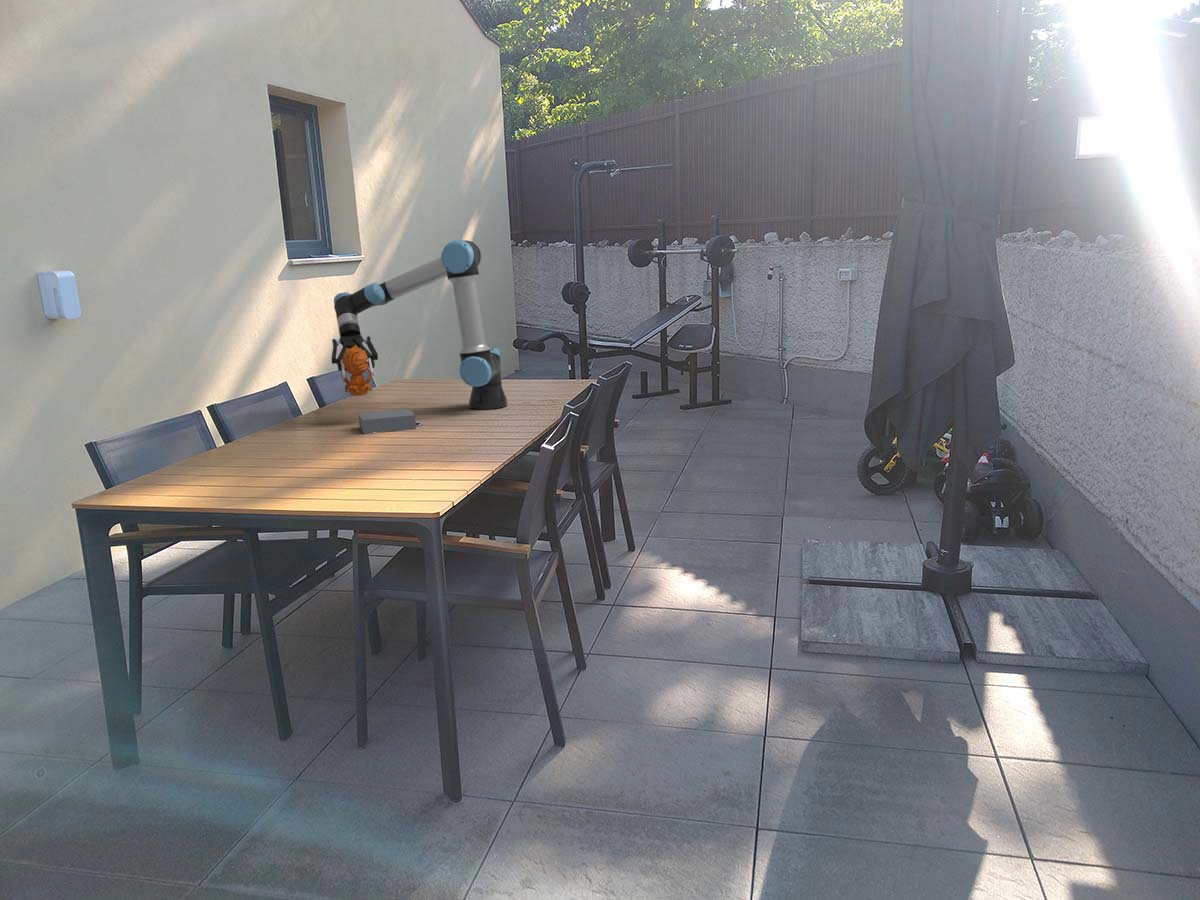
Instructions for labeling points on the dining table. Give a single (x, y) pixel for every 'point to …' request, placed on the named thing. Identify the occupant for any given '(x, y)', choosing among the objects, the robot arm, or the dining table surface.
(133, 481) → the dining table surface
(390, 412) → the base brick
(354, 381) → the orange upright figure
